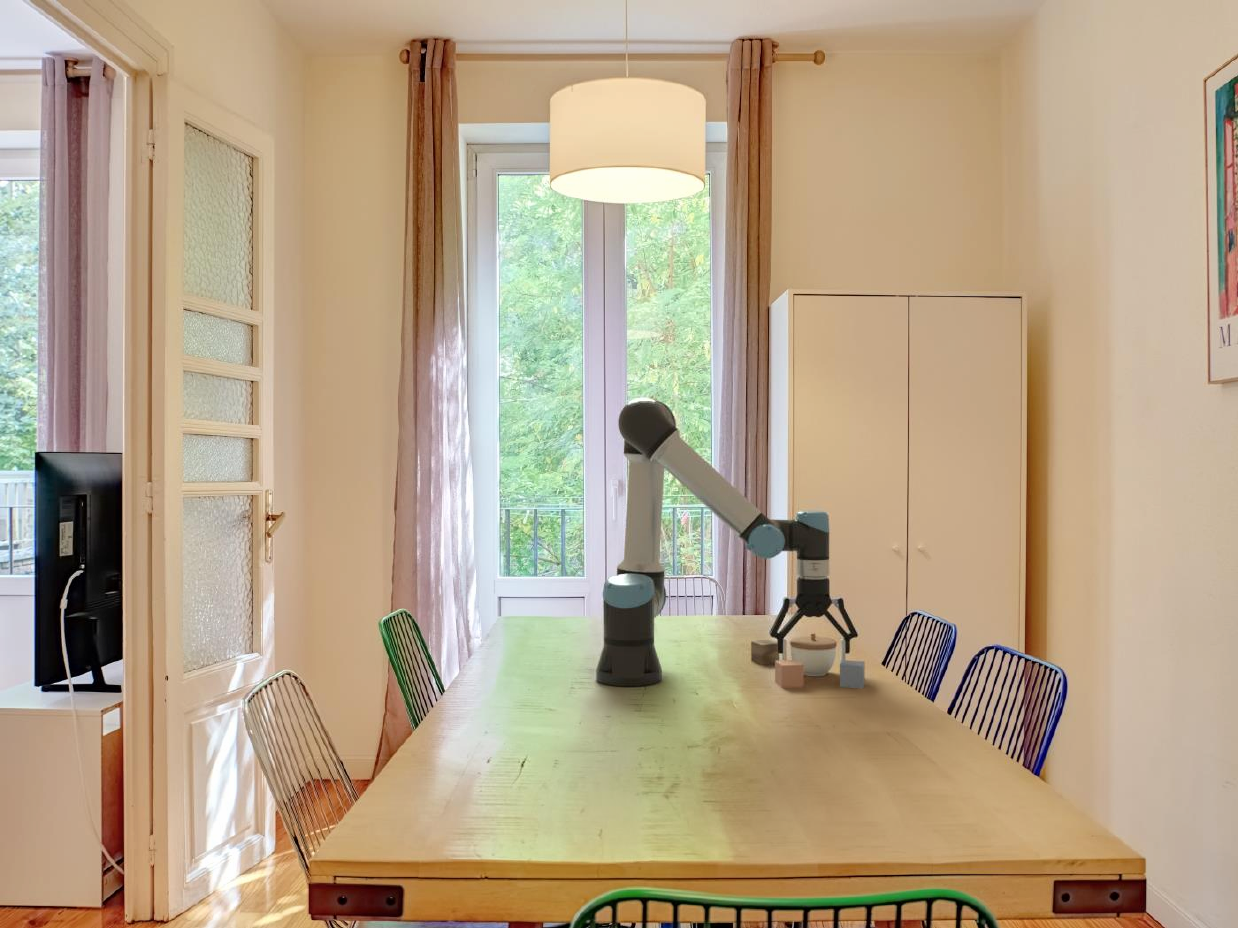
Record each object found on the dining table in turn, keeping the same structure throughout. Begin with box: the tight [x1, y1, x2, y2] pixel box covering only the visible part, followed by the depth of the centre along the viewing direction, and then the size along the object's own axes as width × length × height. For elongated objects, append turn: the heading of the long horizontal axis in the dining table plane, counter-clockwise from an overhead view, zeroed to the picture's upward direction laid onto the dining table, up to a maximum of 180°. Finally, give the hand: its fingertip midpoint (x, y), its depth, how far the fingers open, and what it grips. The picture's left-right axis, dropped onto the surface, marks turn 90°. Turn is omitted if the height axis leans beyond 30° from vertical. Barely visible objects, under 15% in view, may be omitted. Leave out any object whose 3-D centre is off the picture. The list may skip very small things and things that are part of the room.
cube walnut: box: [750, 639, 780, 666], centre depth 243 cm, size 5×5×5 cm
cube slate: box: [839, 659, 866, 689], centre depth 220 cm, size 5×5×5 cm
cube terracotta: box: [774, 659, 804, 689], centre depth 220 cm, size 5×5×5 cm
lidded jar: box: [789, 632, 838, 677], centre depth 231 cm, size 11×11×9 cm
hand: (813, 667), depth 231 cm, fingers open, 13 cm apart
